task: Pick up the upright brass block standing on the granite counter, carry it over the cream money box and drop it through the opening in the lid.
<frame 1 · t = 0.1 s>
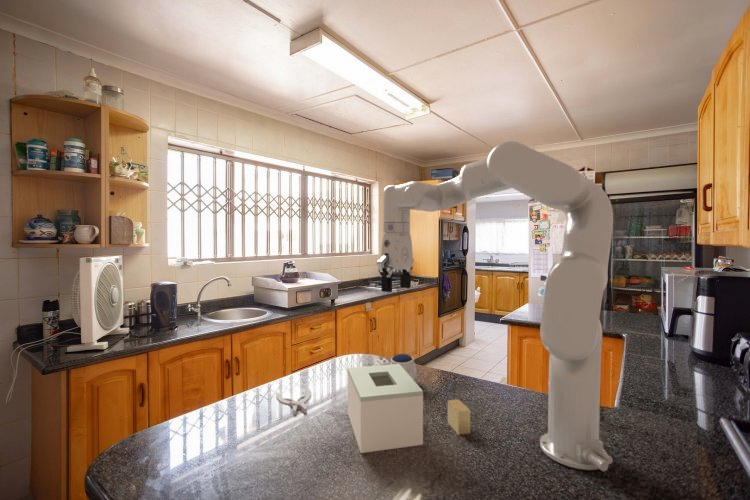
hand: (396, 289, 103), 31 cm above the countertop, tool pointing down, fingers open, 9 cm apart
toy: (385, 388, 111), on the countertop
block: (458, 427, 87), on the countertop
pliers: (296, 404, 101), on the countertop
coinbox: (382, 427, 87), on the countertop
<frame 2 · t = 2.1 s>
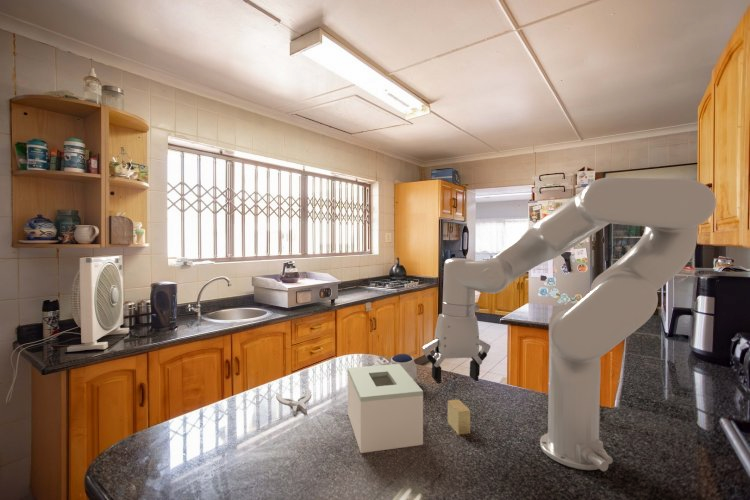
hand: (455, 380, 87), 11 cm above the countertop, tool pointing down, fingers open, 9 cm apart
nothing on the countertop moved.
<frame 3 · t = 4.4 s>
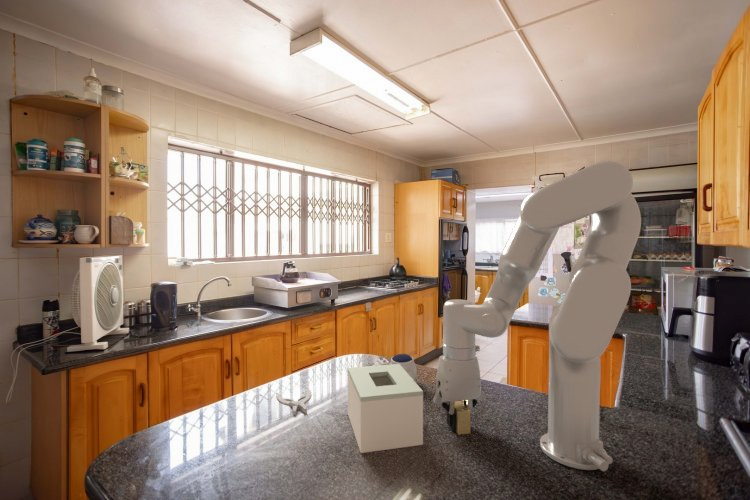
hand: (458, 426, 87), 0 cm above the countertop, tool pointing down, fingers closed on block, 2 cm apart
block: (458, 427, 87), on the countertop, touching gripper
everything else where it was.
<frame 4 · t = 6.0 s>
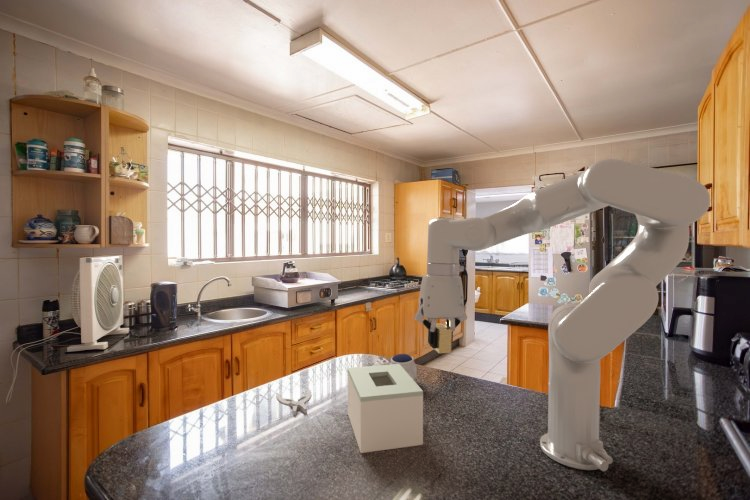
hand: (440, 345, 87), 20 cm above the countertop, tool pointing down, fingers closed on block, 3 cm apart
block: (440, 348, 87), point 19 cm above the countertop, touching gripper
everything else where it was.
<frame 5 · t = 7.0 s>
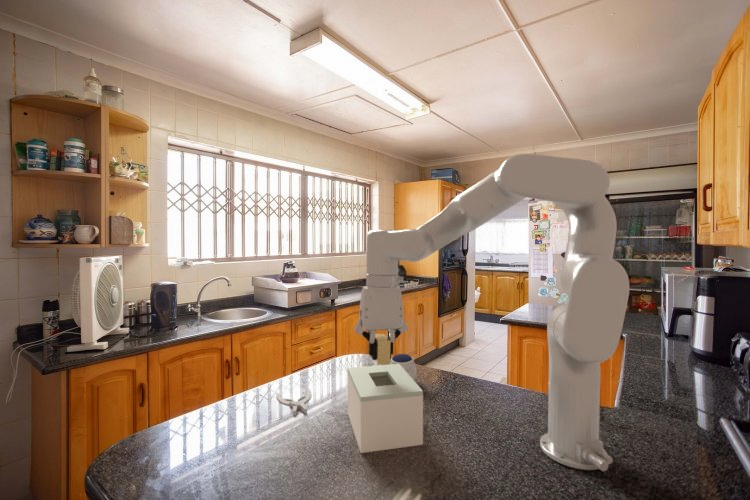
hand: (380, 357, 87), 17 cm above the countertop, tool pointing down, fingers closed on block, 3 cm apart
block: (380, 359, 87), point 16 cm above the countertop, touching gripper
everything else where it was.
when the fingers open (14 cm above the countertop, at t = 7.8 s): block drops 13 cm, resting on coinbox.
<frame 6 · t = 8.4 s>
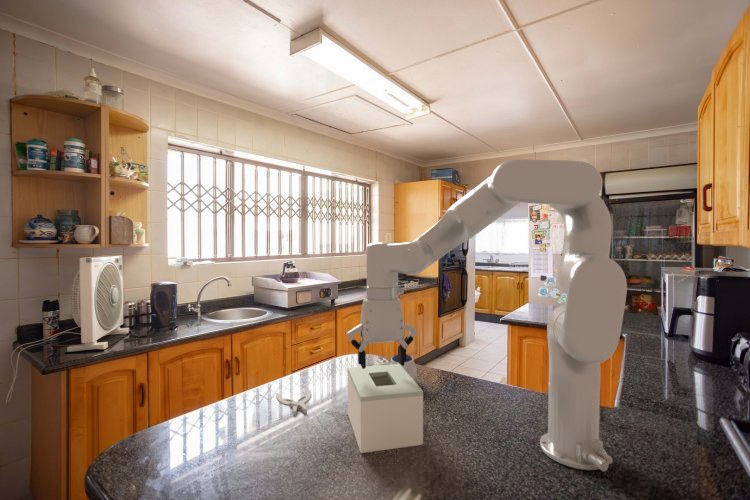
hand: (382, 365, 87), 15 cm above the countertop, tool pointing down, fingers open, 9 cm apart
block: (382, 425, 87), point 1 cm above the countertop, touching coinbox
everything else where it was.
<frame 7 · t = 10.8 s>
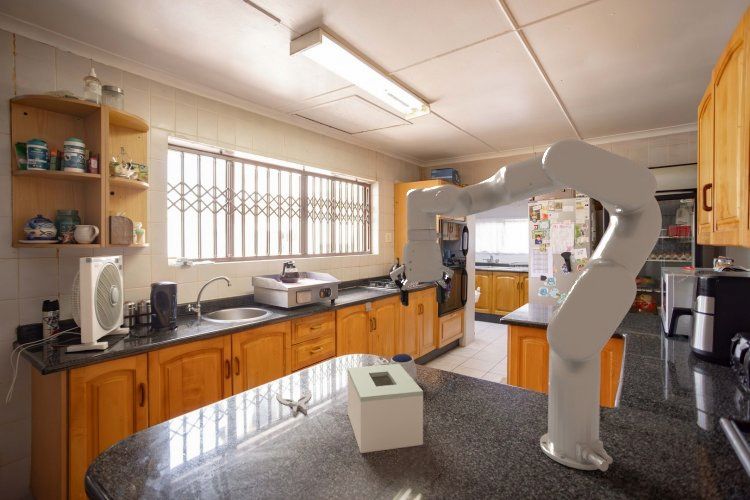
hand: (422, 304, 93), 29 cm above the countertop, tool pointing down, fingers open, 9 cm apart
nothing on the countertop moved.
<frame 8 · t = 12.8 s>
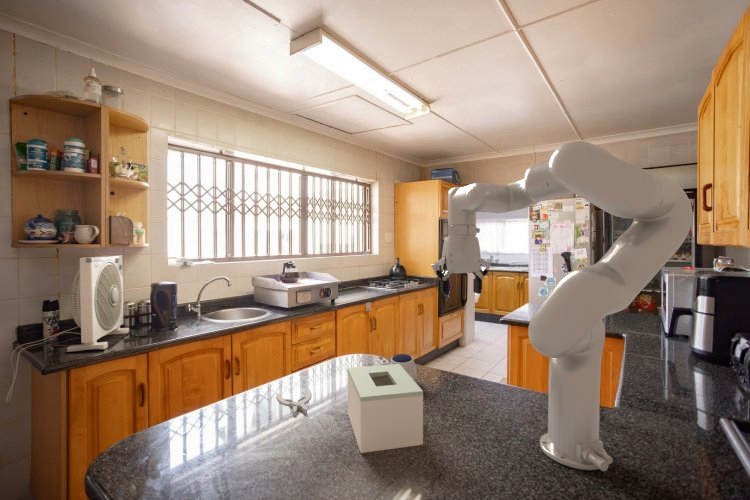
hand: (461, 293, 101), 30 cm above the countertop, tool pointing down, fingers open, 9 cm apart
nothing on the countertop moved.
at the end: block inside the target area on the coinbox (0.1 cm from its centre), point 0.6 cm above the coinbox's base; the gripper is holding nothing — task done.
